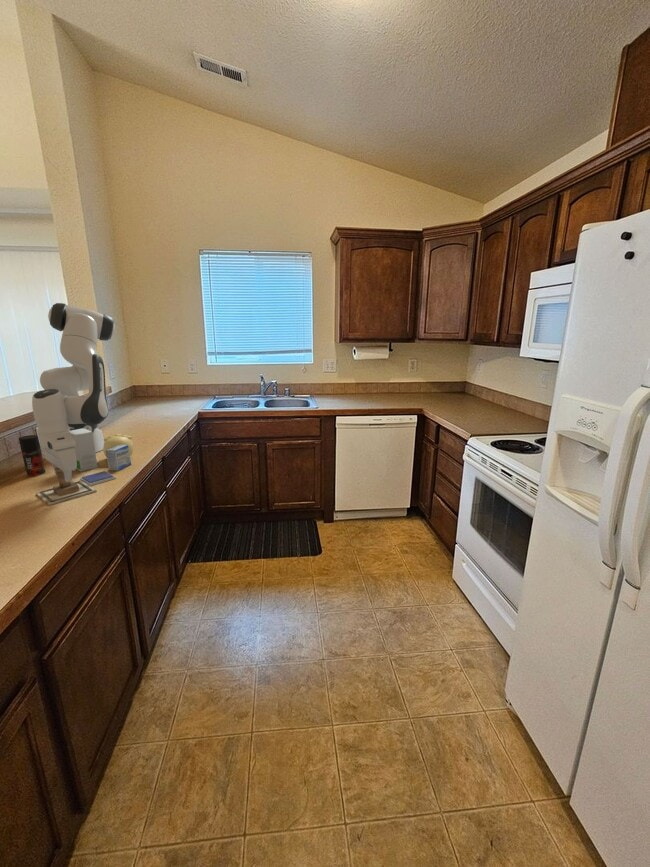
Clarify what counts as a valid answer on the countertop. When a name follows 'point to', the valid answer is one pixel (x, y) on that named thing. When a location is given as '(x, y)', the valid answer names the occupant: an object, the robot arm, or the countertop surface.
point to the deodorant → (32, 455)
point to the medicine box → (118, 457)
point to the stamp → (64, 485)
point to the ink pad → (97, 478)
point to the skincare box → (84, 449)
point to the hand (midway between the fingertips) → (63, 477)
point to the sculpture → (118, 442)
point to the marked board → (53, 498)
